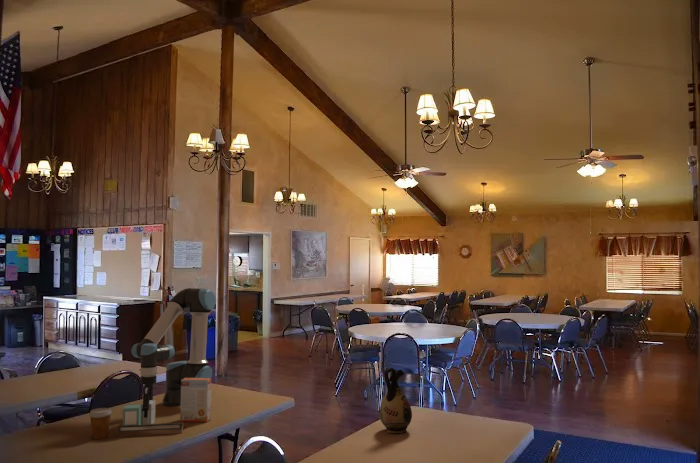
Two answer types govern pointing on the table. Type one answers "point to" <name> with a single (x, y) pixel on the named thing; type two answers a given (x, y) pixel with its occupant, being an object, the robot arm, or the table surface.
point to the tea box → (131, 415)
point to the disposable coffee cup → (100, 422)
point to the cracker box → (195, 399)
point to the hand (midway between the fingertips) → (147, 420)
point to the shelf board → (150, 429)
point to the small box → (151, 412)
